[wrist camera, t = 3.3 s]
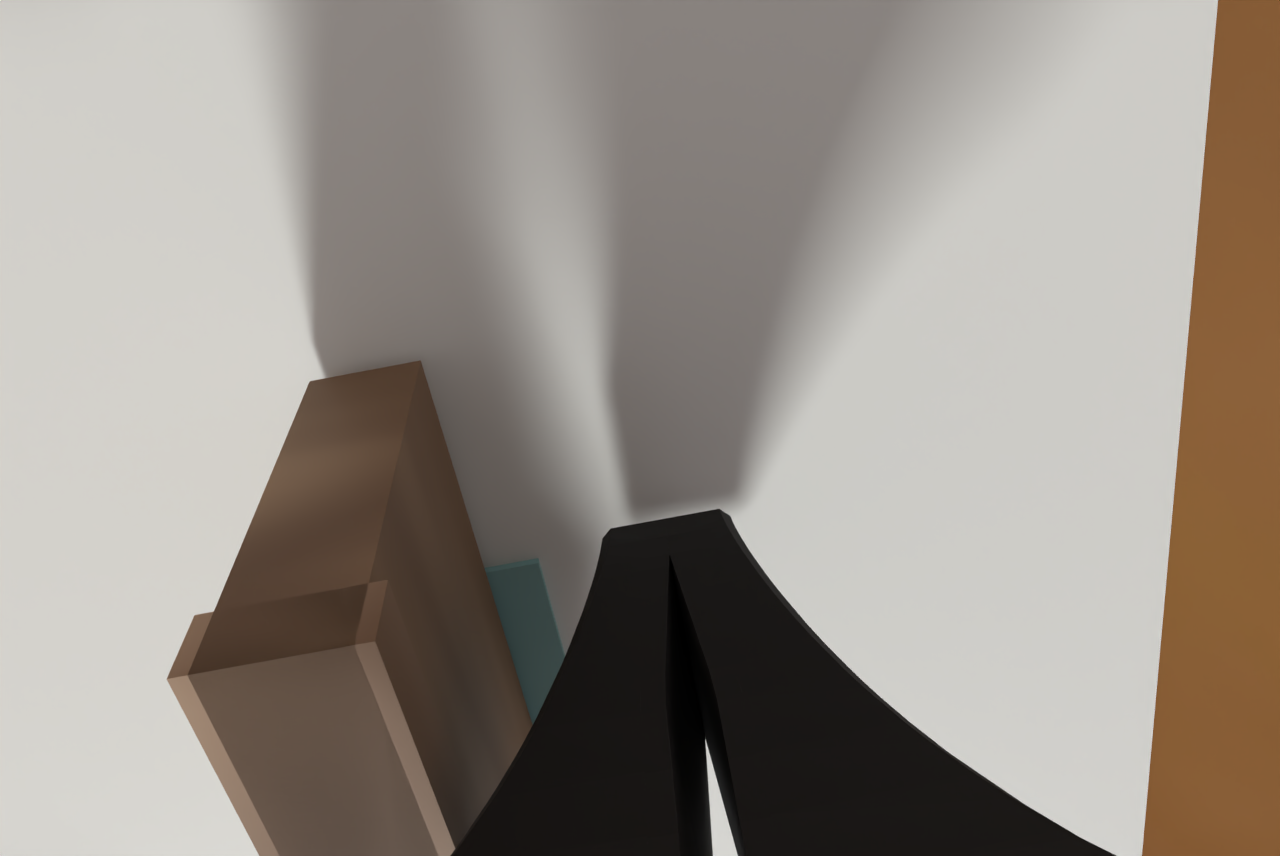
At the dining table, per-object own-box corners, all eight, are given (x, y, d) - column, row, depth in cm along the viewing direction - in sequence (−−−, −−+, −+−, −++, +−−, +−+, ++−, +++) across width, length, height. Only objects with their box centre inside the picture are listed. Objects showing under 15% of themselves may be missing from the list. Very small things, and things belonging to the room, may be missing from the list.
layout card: (1231, -368, 9) (1257, -373, 9) (1109, 1126, 21) (1118, 1147, 21) (-771, 36, 10) (-820, 45, 9) (209, 1276, 22) (204, 1300, 21)
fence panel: (434, 357, 12) (375, 641, 8) (575, 826, 15) (583, 1179, 11) (295, 383, 12) (167, 680, 8) (469, 844, 15) (440, 1201, 11)
